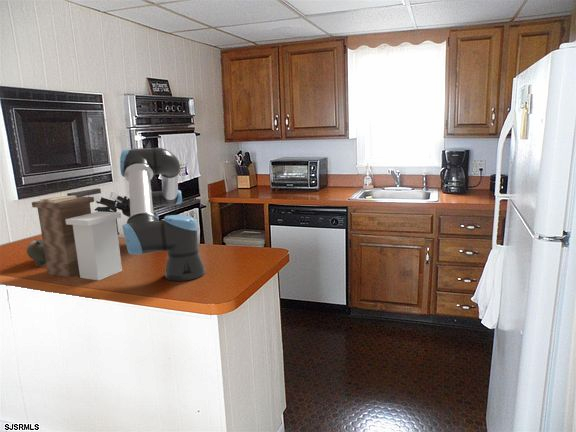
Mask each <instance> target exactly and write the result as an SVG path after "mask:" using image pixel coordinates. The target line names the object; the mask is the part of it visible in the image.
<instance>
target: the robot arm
mask: <svg viewBox="0 0 576 432" xmlns="http://www.w3.org/2000/svg"><path fill="white" fill-rule="evenodd" d="M119 161H120V162H119V168H120V175H121V176H122V177H123V178H125V180H126V181H128V196H129V197H127V196H126V195H124V196H121V195H119V194H118V193H117V192H116V193H115V192H114V191H111V192H110V194H109V195H110V196H109V198H110V199H109V198H105V197H102V196H101V195H100V194H93V195H88V196H87V197H94V202H95V203H96V204H100V205H102V206H105V207H107V206H109V207H112V208H114V209H117V210H119V211H121V214H123V216H126V217H128V218H127V221H126V223H124V224H123V225H122V231H123V235H124V241H125V245H126V250H127V252H128V254H129V255H133V256H135V255H145V254H153V253H159V252H167V261H166V265H165V271H164V273H165V274H164V276H165V277H164V278H165V279H167V280H169V281H174V282H184V281H190V280H195V279H198V278H200V277H203V276H204V275H205V273H206V267H205V264H204V263H203V259H202V257H201V255H200V252H199V240H198V232H197V231H198V228H197V222H196V219H195V218H194V217H192V216H189V215H182V214H181V215H180V214H171V215H170V214H169V215H165V216H164V218H163V220H159V219H160V218H159V215H158V213H157V212H155V211H154V207H163V206H175V205H181V204H182V202H183V196H182V191H181V190H180V189H179V186H178V185H179V175H180V172H181V164H180V161H179V159H178V157H177V156H176V155H175V154H174V153H173V152H171V151H170V150H168V149H165V148H162V147H148V148H146V147H143V148H129V149H123V150H122V151H121V153H120V158H119ZM155 175H161V191H152V185H151V184H152V183H151V180H152V179H153V177H154V176H155Z"/></svg>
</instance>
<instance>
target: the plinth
mask: <svg viewBox="0 0 576 432" xmlns="http://www.w3.org/2000/svg"><path fill="white" fill-rule="evenodd" d="M94 202H95V200H94V197H88V196H83V197H77V199H72V200H67V201H62V202H56V203H47V202H41V201H40V200H38V201H32V202H31V208H36V209H37V213H38V219H39V224H40V230H41V231H40V233H41V238H42V239H41V240H43V246H44V252H45V258H46V271H47V274H48V275H51V276H57V277H64V278H72V277H75V276H78V275H80V272H79V265H78V258H77V252H76V245H75V238H74V231H73V225H68V224H66V220H65V219H69V218H73V217H77V216H81V215H86V214H90V213H92V209H91V203H94Z"/></svg>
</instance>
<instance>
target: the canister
mask: <svg viewBox="0 0 576 432" xmlns="http://www.w3.org/2000/svg"><path fill="white" fill-rule="evenodd" d="M99 211H101V212H118V209H117V208H116V209H114V208H112V207H109V206H97V207H95V208H94V212H99ZM116 225H117V233H118V236H119V235H120V232H119V226H118V218H117V219H116Z"/></svg>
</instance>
